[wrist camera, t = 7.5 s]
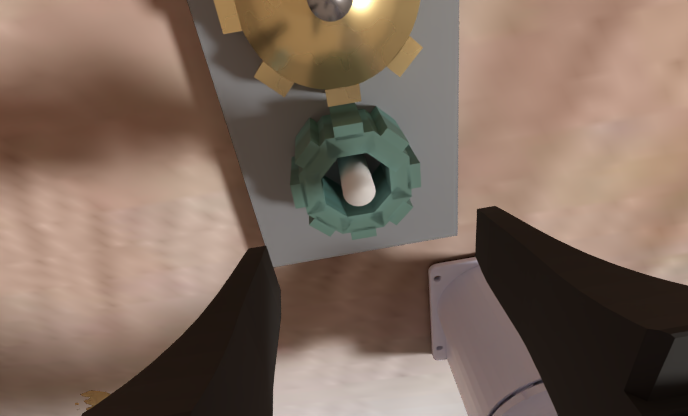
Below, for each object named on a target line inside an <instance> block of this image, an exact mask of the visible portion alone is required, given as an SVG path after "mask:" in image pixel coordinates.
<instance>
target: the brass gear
mask: <svg viewBox="0 0 688 416" xmlns="http://www.w3.org/2000/svg"><path fill="white" fill-rule="evenodd" d="M214 3H215V7H216V10H217V14H218V17H219V21H220V24H221V28H222V31H223V34H228V33H233V32H239V31H243V32H244V34H245V36H246V38H247V40H248V41H249V43H250V45H251V46H252V48H253V49H254V50H255V52H256V53H257V54H258V56H259V57H260V58H261V59H262V62H261V63H260V65H259V67H258V69H257V71H256V73H255V76H254V77H255V78H256V79H258V80H259V81H261V82H262V83H264V84H265V85H267V86H268V87H270V88H271V89H273V90H274V91H276V92H277V93H279V94H280V95H282V96H283V97H284V98H285V96H286V95H287V93H288V91H289V90H290V88H291V87H292V85H293V84H294V83H297V84H299V85H302V86H306V87H309V88H315V89H325V93H326V99H327V104H328V107H331V106H337V105H343V104H349V103H354V102H360V101H361V94H360V86H359V83H362V82H364V81H366V80H368V79H370V78H372V77H373V76H375V75H376V74H378V73H379V72H380V71H382V70H383V69H384V68H385V67H388V68H389V69H390V70H391V71H393V72H394V73H395V74H396V75H398V76H399V77H401V75H402V74H403V73H404V72H405V70H406V69H407V68H408V66H409V65H410V64H411V63H412V61H413V60H414V59H415V57H416V56H417V55H418V53H419V52H420V51H421V50H422V48H423V47H422V46H421V45H420V44H419V43H417V42H416V41H415V40H414V39H413V38H412V37H410V36H409V35H410V33H411V31H412V29H413V26H414V23H415V21H416V18H417V14H418V10H419V6H420V0H214Z"/></svg>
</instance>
